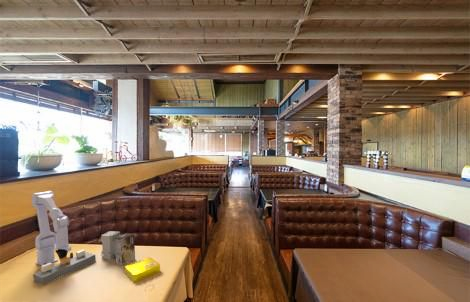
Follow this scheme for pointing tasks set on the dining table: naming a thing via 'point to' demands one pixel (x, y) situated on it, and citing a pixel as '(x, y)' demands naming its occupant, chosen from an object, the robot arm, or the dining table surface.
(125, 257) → the coffee box
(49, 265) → the paddle
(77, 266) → the breaker panel
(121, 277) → the dining table surface
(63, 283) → the dining table surface
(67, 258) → the orange block
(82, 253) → the paddle
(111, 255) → the circuit breaker
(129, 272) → the element tile
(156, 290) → the dining table surface
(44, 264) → the cord posts
